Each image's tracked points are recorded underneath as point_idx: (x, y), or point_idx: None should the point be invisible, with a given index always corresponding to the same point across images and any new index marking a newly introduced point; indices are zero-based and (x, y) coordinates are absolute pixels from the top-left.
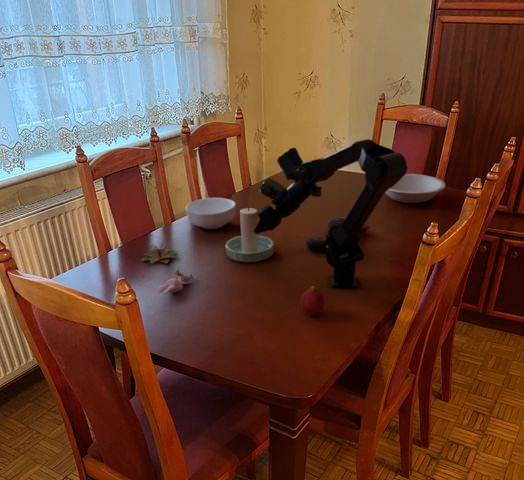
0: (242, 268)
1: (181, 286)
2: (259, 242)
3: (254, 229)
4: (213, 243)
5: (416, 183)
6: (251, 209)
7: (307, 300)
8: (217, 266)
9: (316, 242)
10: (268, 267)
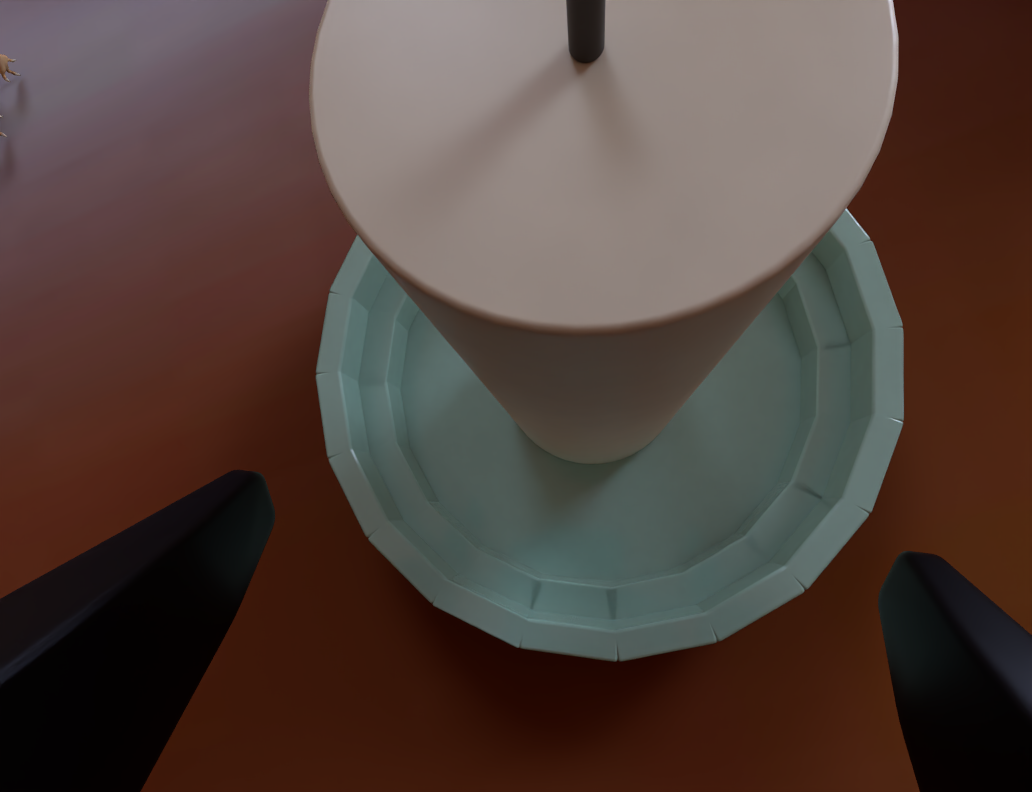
0: (259, 427)
1: None
2: (812, 408)
3: (192, 492)
4: None
5: None
6: (745, 89)
7: None
8: (261, 207)
9: None
10: (323, 669)
